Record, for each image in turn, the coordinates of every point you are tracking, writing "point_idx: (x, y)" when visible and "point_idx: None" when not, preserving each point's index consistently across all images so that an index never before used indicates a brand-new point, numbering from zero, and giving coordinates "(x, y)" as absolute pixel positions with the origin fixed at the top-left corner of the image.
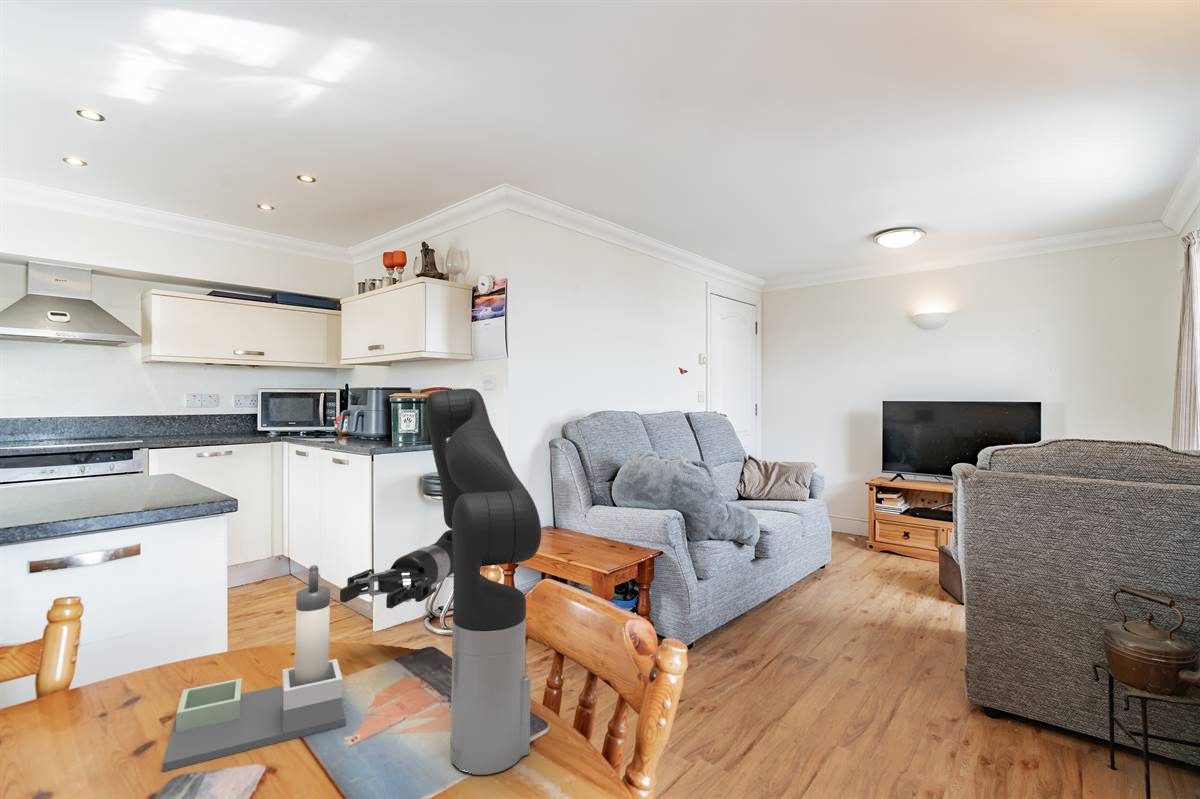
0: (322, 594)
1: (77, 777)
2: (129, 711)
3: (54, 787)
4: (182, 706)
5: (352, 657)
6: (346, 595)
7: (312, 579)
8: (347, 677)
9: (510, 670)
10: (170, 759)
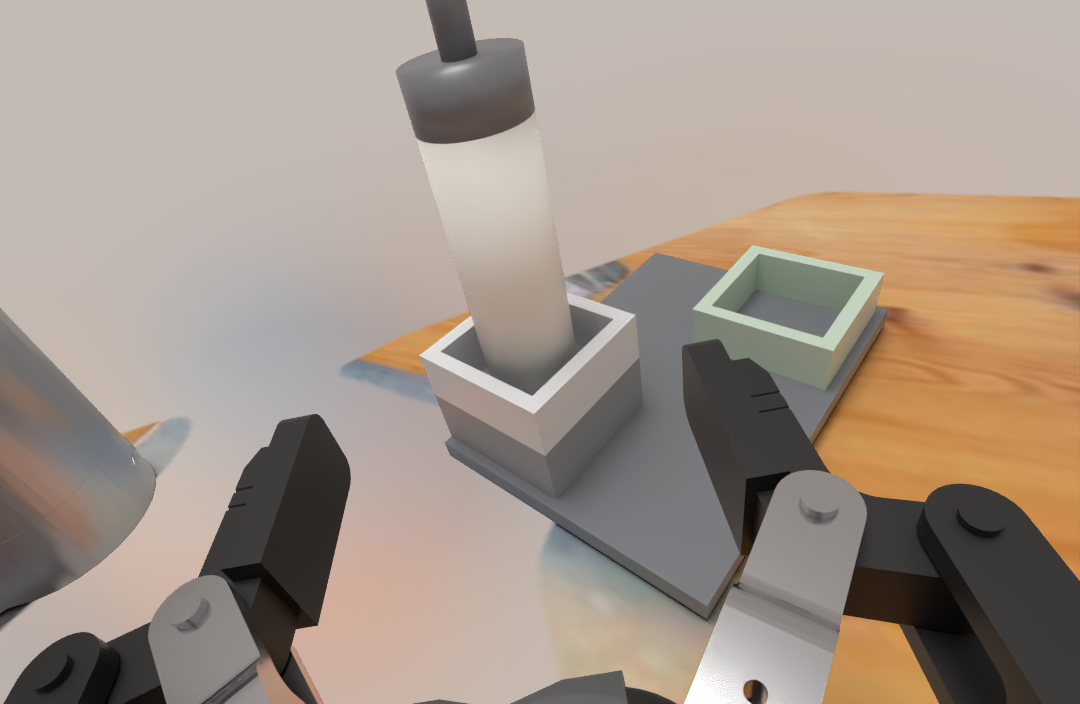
0: (400, 66)
1: (765, 223)
2: (1011, 291)
3: (762, 210)
4: (778, 255)
5: None
6: (692, 397)
7: None
8: None
9: None
10: (655, 258)
